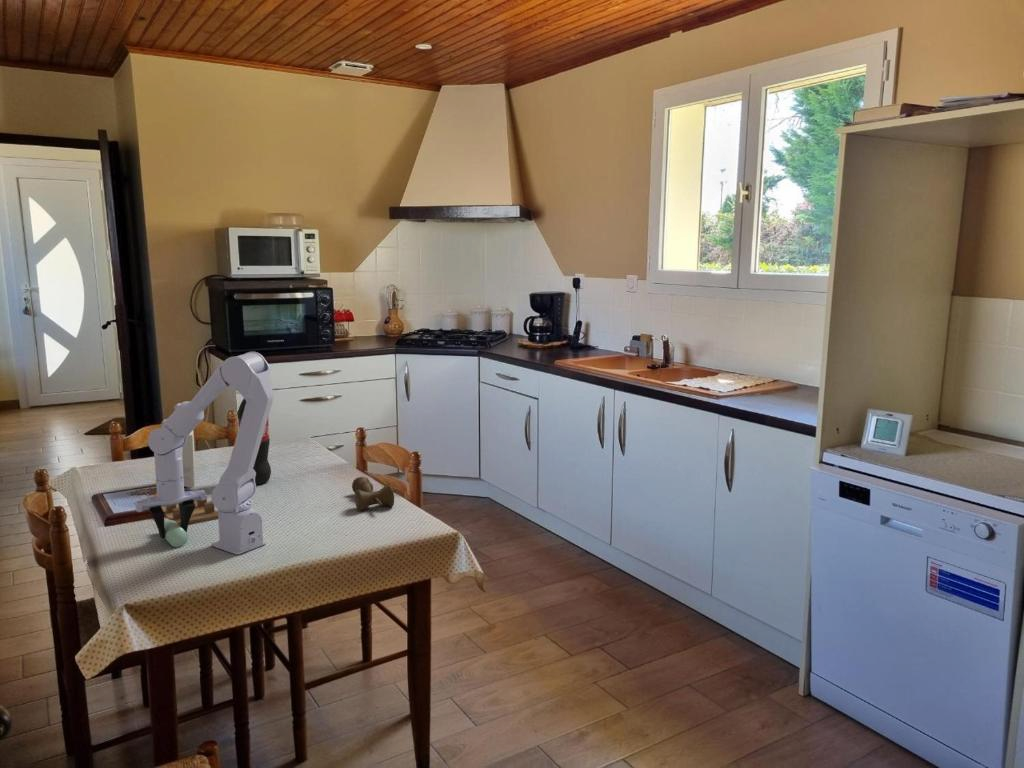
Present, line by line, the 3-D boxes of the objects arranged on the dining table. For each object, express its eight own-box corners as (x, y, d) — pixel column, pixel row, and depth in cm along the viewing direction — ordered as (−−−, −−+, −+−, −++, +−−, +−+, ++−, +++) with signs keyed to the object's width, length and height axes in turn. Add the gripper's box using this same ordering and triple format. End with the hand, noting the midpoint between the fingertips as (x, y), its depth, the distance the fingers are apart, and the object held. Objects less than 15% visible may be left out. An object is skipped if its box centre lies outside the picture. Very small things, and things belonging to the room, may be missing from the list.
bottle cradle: (221, 518, 187) (220, 505, 186) (174, 527, 180) (173, 513, 179) (201, 501, 199) (200, 488, 198) (156, 509, 192) (156, 496, 191)
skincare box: (172, 480, 216) (169, 428, 213) (197, 478, 218) (194, 427, 215) (170, 489, 208) (166, 435, 205) (195, 487, 210) (192, 433, 208)
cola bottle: (265, 487, 212) (261, 383, 207) (235, 486, 212) (230, 382, 207) (275, 478, 220) (271, 378, 215) (246, 477, 220) (242, 377, 215)
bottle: (187, 546, 169) (188, 529, 169) (169, 548, 166) (170, 531, 166) (172, 530, 178) (173, 514, 178) (154, 532, 176) (155, 516, 175)
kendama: (377, 492, 210) (400, 512, 193) (343, 497, 206) (363, 519, 189) (376, 472, 210) (399, 490, 192) (342, 476, 205) (362, 496, 188)
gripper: (197, 468, 176) (200, 523, 179) (130, 479, 167) (134, 536, 170) (207, 475, 171) (210, 532, 173) (138, 487, 162) (142, 546, 164)
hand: (173, 535), depth 171 cm, fingers closed on bottle, 4 cm apart
